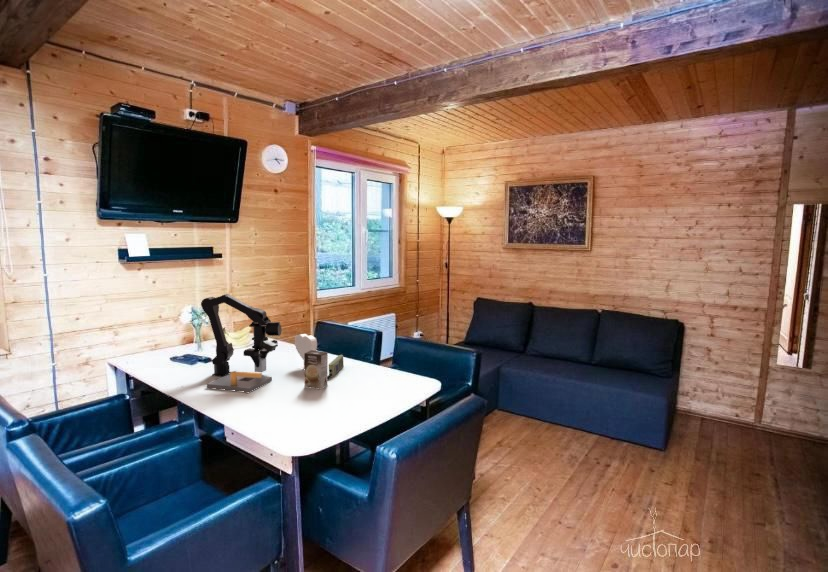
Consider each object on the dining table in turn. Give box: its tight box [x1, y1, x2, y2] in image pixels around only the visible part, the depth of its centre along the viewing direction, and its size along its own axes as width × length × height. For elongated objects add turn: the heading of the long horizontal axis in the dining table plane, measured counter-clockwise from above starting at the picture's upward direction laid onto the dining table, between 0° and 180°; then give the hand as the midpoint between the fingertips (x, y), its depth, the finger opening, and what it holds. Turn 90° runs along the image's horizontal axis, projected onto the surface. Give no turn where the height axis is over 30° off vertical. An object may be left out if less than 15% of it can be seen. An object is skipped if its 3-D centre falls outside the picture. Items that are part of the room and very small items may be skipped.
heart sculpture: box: [294, 333, 318, 369], centre depth 234 cm, size 16×5×18 cm, turn 47°
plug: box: [253, 358, 267, 373], centre depth 223 cm, size 4×4×6 cm
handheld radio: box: [327, 354, 345, 380], centre depth 228 cm, size 7×3×25 cm
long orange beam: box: [230, 370, 263, 385], centre depth 199 cm, size 3×14×6 cm, turn 82°
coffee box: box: [303, 350, 329, 390], centre depth 205 cm, size 9×6×16 cm
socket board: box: [206, 373, 273, 393], centre depth 208 cm, size 22×18×2 cm
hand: (260, 366), depth 223 cm, fingers closed on plug, 4 cm apart
